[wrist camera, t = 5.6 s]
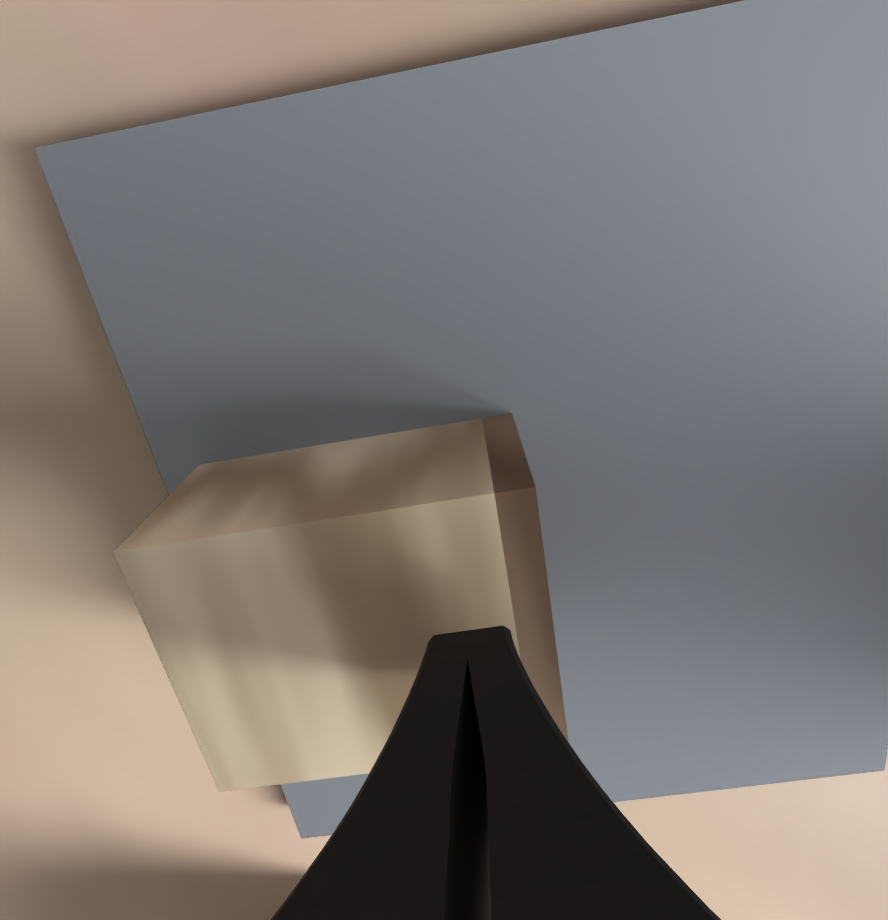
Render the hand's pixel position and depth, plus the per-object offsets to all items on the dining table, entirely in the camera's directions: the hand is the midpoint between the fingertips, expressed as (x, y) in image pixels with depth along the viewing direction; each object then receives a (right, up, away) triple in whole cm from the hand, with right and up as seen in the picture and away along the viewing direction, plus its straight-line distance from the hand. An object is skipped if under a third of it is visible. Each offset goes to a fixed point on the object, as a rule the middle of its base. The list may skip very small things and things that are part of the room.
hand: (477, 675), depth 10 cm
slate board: (+2, +3, +5) cm, 6 cm away
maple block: (+1, +1, +3) cm, 3 cm away
